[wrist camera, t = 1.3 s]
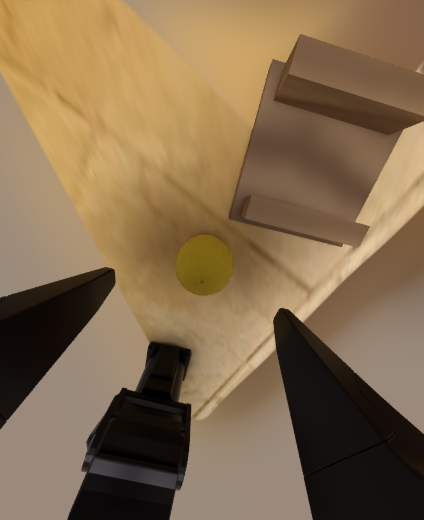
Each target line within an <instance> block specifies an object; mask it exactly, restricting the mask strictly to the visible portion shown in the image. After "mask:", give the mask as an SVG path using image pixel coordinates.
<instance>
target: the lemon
mask: <svg viewBox="0 0 424 520" xmlns="http://www.w3.org/2000/svg"><path fill="white" fill-rule="evenodd" d="M232 271H233V257H232V254H231V251H230V249H229V248H228V246H227V245H226V243H225V242H223V241H222V240H221V239H219V238H217V237H215V236H212V235H208V234H206V235H198V236H195V237H192V238H191V239H189V240H188V241H186V242H185V244H184V245H183V246H182V247H181V249H180V250H179V252H178V254H177V259H176V274H177V277H178V280H179V281H180V283H181V284H182V286H183V287H184V288H185V289H186V290H188V291H190V292H191V293H193V294H197V295H203V296H206V295H212V294H214V293H217V292H219V291H220V290H221V289H223V288H224V287H225V286H226V284H227V283H228V281H229V279H230V277H231V275H232Z"/></svg>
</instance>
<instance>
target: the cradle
mask: <svg viewBox="0 0 424 520" xmlns="http://www.w3.org/2000/svg"><path fill="white" fill-rule="evenodd" d="M423 121H424V74H421V73H418V72H414V71H411V70H408V69H405V68H402V67H399V66H396V65H393V64H390V63H387V62H384V61H381V60H378V59H375V58H372V57H369V56H366V55H363V54H359V53H357V52H353V51H350V50H348V49H344V48H341V47H338V46H335V45H332V44H329V43H326V42H323V41H320V40H317V39H314V38H311V37H308V36H305V35H301V34H300V36H299V38H298V40H297V42H296V44H295V46H294V48H293V50H292V52H291V54H290V56H289V58H288V60H287V62H286V63H284V62H280V61H277V60H274V59H273V60H272V63H271V65H270V68H269V71H268V75H267V78H266V82H265V86H264V90H263V93H262V97H261V101H260V104H259V109H258V112H257V116H256V119H255V123H254V127H253V130H252V134H251V138H250V142H249V145H248V149H247V153H246V157H245V160H244V164H243V168H242V171H241V175H240V179H239V183H238V186H237V190H236V194H235V197H234V201H233V205H232V209H231V212H230V216H229V219H233V220H237V221H240V222H244V223H248V224H252V225H256V226H260V227H264V228H268V229H272V230H276V231H280V232H284V233H288V234H292V235H296V236H300V237H304V238H308V239H312V240H316V241H320V242H324V243H328V244H332V245H336V246H340V247H342V245H343V244H347V245H351V246H355V247H359V245H360V244H361V242H362V240H363V238H364V236H365V235H366V233H367V231H368V229H369V228H370V226H367V225H363V224H360V223H356V222H355V221H356V219H357V217H358V215H359V213H360V211H361V209H362V207H363V205H364V203H365V202H366V200H367V198H368V196H369V194H370V192H371V190H372V188H373V186H374V184H375V182H376V181H377V179H378V177H379V175H380V173H381V171H382V169H383V167H384V165H385V163H386V162H387V160H388V158H389V156H390V154H391V152H392V150H393V148H394V146H395V144H396V143H397V141H398V139H399V137H400V135H401V133H402V131H403V129H405V128H408V127H410V126H413V125H415V124H418V123H420V122H423Z"/></svg>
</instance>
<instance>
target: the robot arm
mask: <svg viewBox="0 0 424 520" xmlns="http://www.w3.org/2000/svg"><path fill="white" fill-rule="evenodd" d="M115 282H116V280H115V270H114V269H112V268H108V267H104V268H101V269H98V270H94V271H90V272H87V273H84V274H80V275H77V276H73V277H70V278H66V279H63V280H59V281H56V282H52V283H49V284H46V285H42V286H39V287H35V288H32V289H29V290H25V291H22V292H18V293H15V294H11V295H8V296H7V297H6V296H5V297H1V298H0V429H1V428H2V427H3V425H4V424H5V423H6V420H8V419H9V418H10V417H11V415H12V414H13V413H14V412H15V411H16V409H17V408H18V407H19V406H20V405H21V403H22V402H23V401H24V400H25V398H26V397H27V396H28V395H29V394H30V392H31V391H32V390H33V388H35V386H36V385H37V384H38V382H39V381H40V380H41V379H42V378H43V376H44V375H45V374H46V373H47V372H48V371H49V369H50V368H51V367H52V365H54V363H55V362H56V361H57V360H58V358H59V357H60V356H61V355H62V354H63V352H64V351H65V350H66V349H67V348H68V346H69V345H70V344H71V343H72V341H73V340H74V339H75V338H76V337H77V335H78V334H79V333H80V332H81V330H82V329H83V328H84V327H85V326H86V324H87V323H88V322H89V321H90V320H91V318H92V317H93V316H94V315H95V313H96V312H97V311H98V310H99V308H100V307H101V305H102V304H103V302H104V301H105V299H106V298H107V296H108V295H109V293H110V292H111V290H112V289H113V287H114V285H115ZM273 324H274V333H275V342H276V350H277V355H278V360H279V365H280V369H281V374H282V378H283V383H284V388H285V392H286V397H287V401H288V406H289V411H290V416H291V419H292V425H293V429H294V434H295V439H296V443H297V448H298V452H299V457H300V462H301V466H302V471H303V475H304V481H305V486H306V490H307V495H308V500H309V504H310V509H311V513H312V518H313V520H424V434H423V433H422V432H421V431H420V430H418V429H417V428H416V427H415V426H414V425H413V424H411V423H410V422H409V421H408V420H407V419H406V418H405V417H404V416H402V415H401V414H400V413H399V412H398V411H397V410H395V409H394V408H393V407H392V406H391V405H390V404H389V403H388V402H387V401H385V400H384V399H383V398H382V397H381V396H380V395H379V394H378V393H377V392H375V391H374V390H373V389H372V388H371V387H370V386H369V385H368V384H367V383H366V382H365V381H364V380H362V378H360V377H359V376H358V375H357V374H356V373H354V371H353V370H352V369H351V368H350V367H349V366H348V365H347V364H346V363H345V362H343V361H342V360H341V359H340V358H339V357H338V356H337V355H336V354H335V353H334V352H333V351H332V350H331V349H330V348H329V347H327V345H325V344H324V343H323V342H322V341H321V340H320V339H319V338H318V337H317V336H316V335H315V334H314V333H313V332H312V331H311V330H310V329H308V327H306V326H305V325H304V324H303V323H302V322H301V321H300V320H299V319H298V318H297V317H296V316H295V315H294V314H293V313H292V312H291V311H290V310H288V309H285V308H280V309H279V310H278V312H277V314H276V315H275V317H274V320H273ZM190 356H191V351H190V350H188V349H183V348H178V347H173V346H168V345H163V344H158V343H150V344H149V346H148V352H147V359H146V366H145V370H144V372H143V374H142V377H141V379H140V381H139V384H138V386H137V388H136V390H135V391H131V390H127V388H122V390H121V391H120V393H119V394H117V395H116V396H115V397H114V399H113V400H112V402H111V404H110V406H109V408H108V410H107V411H106V413H105V415H104V416H103V418H102V419H101V420H100V422H99V423H98V424H97V426H96V427H95V429H94V430H93V431H92V433H91V434H90V436H89V438H88V440H87V443H86V444H87V453H86V456H85V460H84V463H83V466H82V472H87V474H86V475H85V478H84V480H83V483H82V485H81V487H80V490H79V492H78V494H77V497H76V499H75V501H74V504H73V506H72V508H71V511H70V513H69V516H68V519H67V520H169V519H170V514H171V509H172V504H173V500H174V495H175V490H180V489H181V486H182V483H183V480H184V476H185V471H186V467H187V461H188V454H189V445H190V424H191V423H190V422H191V404H188V403H187V404H184V403H180V402H179V396H180V391H181V386H182V381H184V379H185V375H186V371H187V368H188V364H189V360H190Z"/></svg>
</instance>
